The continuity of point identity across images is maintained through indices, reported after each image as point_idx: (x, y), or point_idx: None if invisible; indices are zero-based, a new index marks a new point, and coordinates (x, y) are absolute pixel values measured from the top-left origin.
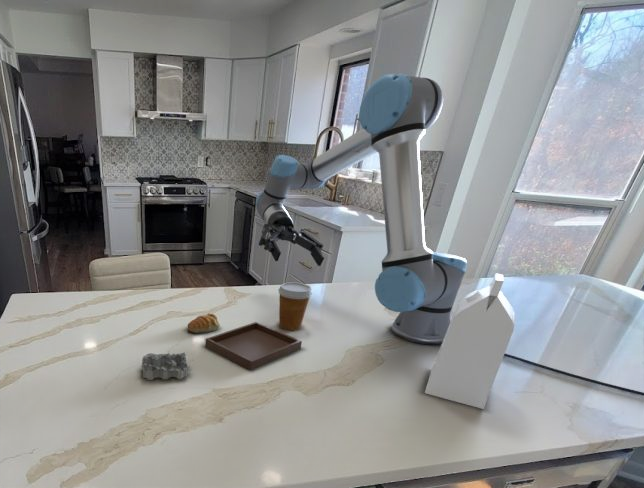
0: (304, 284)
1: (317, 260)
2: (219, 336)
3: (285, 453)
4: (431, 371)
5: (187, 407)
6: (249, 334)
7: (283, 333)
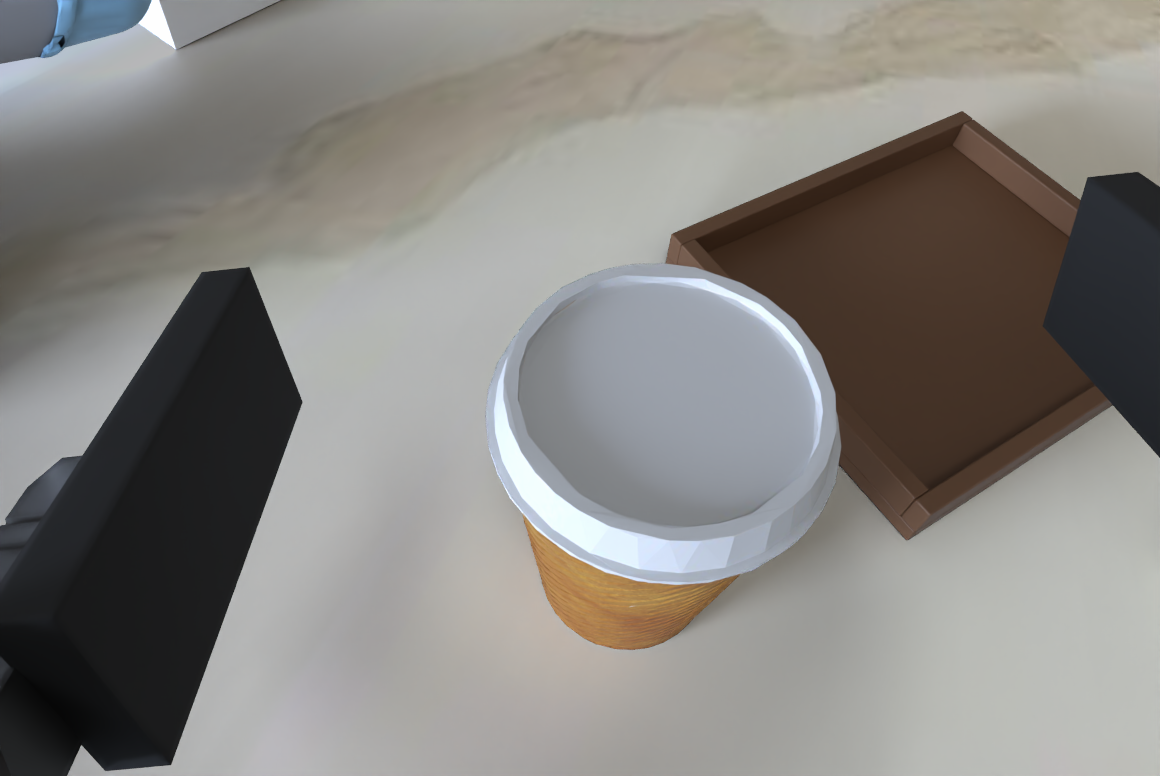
0: (534, 452)
1: (263, 419)
2: None
3: None
4: (213, 2)
5: (1141, 18)
6: (957, 415)
7: None
